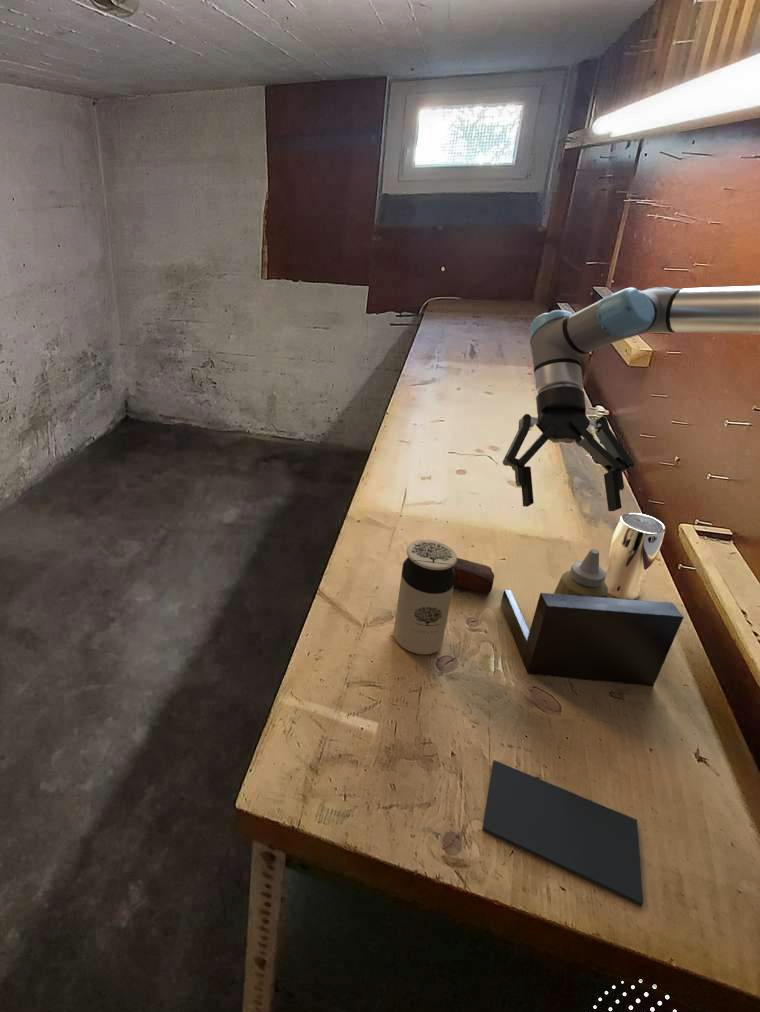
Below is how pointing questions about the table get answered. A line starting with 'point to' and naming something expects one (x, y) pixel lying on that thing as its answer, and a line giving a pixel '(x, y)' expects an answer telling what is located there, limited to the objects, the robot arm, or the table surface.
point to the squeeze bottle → (584, 578)
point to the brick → (473, 577)
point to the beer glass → (632, 553)
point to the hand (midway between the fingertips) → (571, 507)
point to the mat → (565, 830)
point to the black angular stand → (594, 637)
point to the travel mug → (424, 596)
